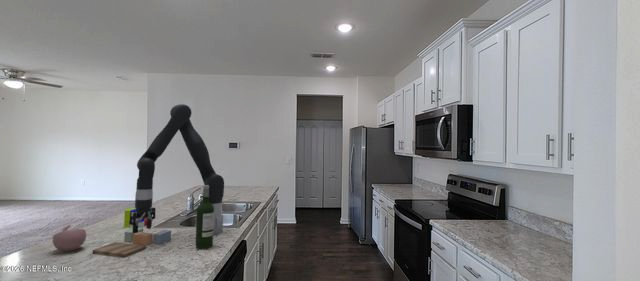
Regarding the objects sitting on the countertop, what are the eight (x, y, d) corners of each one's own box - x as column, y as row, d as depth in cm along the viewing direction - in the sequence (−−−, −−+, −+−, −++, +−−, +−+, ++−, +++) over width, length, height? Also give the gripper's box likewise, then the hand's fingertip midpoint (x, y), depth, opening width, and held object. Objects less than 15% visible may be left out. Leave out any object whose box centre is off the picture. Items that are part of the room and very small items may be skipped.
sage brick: (136, 237, 165) (136, 227, 165) (142, 237, 165) (143, 228, 165) (124, 241, 157) (124, 231, 158) (131, 242, 157) (131, 232, 157)
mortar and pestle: (81, 244, 151) (82, 220, 151) (89, 250, 144) (90, 225, 144) (49, 250, 142) (50, 225, 142) (55, 257, 134) (56, 230, 134)
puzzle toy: (140, 228, 183) (141, 210, 183) (124, 227, 183) (124, 210, 183) (150, 223, 193) (151, 207, 193) (134, 223, 193) (135, 206, 193)
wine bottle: (207, 250, 149) (209, 187, 149) (192, 248, 150) (194, 186, 151) (215, 244, 156) (217, 184, 157) (201, 243, 158) (203, 184, 158)
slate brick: (164, 239, 163) (164, 229, 163) (170, 240, 162) (171, 230, 162) (152, 244, 155) (153, 234, 155) (159, 245, 154) (160, 234, 154)
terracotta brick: (152, 243, 156) (152, 233, 156) (146, 245, 152) (146, 235, 152) (138, 241, 158) (139, 232, 158) (132, 244, 154) (132, 234, 154)
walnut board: (145, 248, 148) (145, 245, 148) (124, 257, 136) (124, 254, 136) (115, 245, 152) (115, 242, 152) (92, 253, 140) (92, 250, 140)
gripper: (139, 200, 148) (137, 235, 147) (160, 196, 162) (159, 228, 161) (125, 199, 149) (124, 233, 149) (148, 195, 163) (146, 226, 163)
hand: (142, 230), depth 155 cm, fingers open, 8 cm apart
